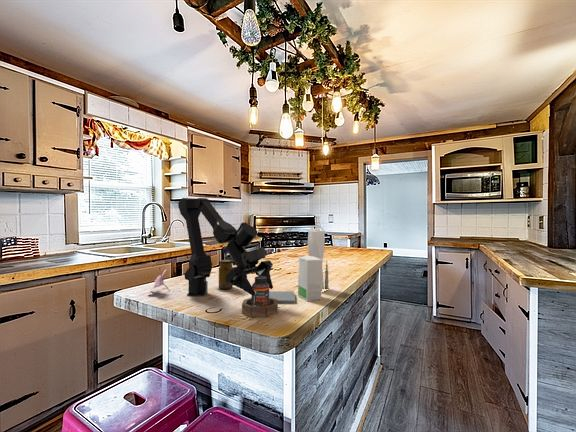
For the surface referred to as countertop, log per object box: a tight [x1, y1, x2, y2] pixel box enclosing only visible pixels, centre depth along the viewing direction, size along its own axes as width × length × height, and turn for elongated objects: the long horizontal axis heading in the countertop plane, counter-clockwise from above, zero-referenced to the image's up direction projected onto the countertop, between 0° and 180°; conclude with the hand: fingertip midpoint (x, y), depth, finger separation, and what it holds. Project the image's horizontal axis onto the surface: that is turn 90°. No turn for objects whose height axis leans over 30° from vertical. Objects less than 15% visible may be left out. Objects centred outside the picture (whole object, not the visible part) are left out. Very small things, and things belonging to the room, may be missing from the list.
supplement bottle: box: [251, 275, 270, 306], centre depth 94 cm, size 6×6×11 cm
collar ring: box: [241, 297, 279, 318], centre depth 94 cm, size 12×12×3 cm
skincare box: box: [297, 255, 323, 302], centre depth 109 cm, size 8×7×16 cm
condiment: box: [214, 259, 239, 292], centre depth 122 cm, size 7×8×12 cm
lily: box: [147, 269, 171, 296], centre depth 115 cm, size 12×12×10 cm
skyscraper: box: [307, 225, 330, 291], centre depth 120 cm, size 8×8×28 cm
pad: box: [269, 290, 296, 304], centre depth 108 cm, size 12×12×1 cm
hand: (263, 291), depth 93 cm, fingers open, 9 cm apart
